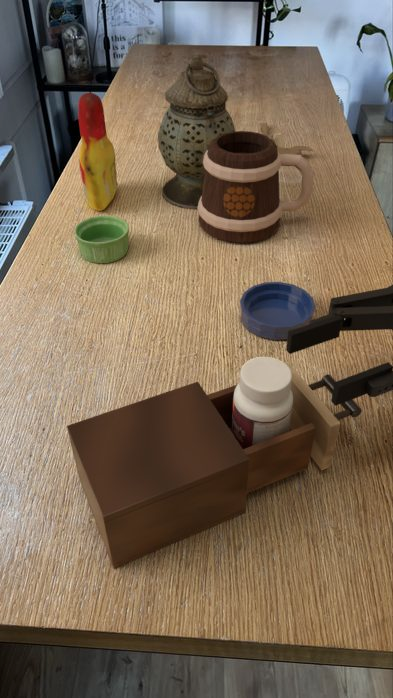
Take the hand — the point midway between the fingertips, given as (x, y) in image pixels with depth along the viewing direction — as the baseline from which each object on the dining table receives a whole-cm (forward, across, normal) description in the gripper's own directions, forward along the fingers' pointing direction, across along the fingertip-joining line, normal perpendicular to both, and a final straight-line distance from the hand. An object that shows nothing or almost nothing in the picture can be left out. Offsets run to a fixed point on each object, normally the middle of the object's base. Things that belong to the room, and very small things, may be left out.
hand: (311, 367), depth 61 cm
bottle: (+2, -66, +12) cm, 68 cm away
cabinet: (+18, 0, +12) cm, 21 cm away
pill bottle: (+5, 0, +10) cm, 12 cm away
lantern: (-16, -61, +12) cm, 64 cm away
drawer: (+4, 0, +11) cm, 12 cm away
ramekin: (+7, -49, +12) cm, 51 cm away
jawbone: (-44, -74, +12) cm, 87 cm away
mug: (-20, -46, +12) cm, 52 cm away
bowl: (-10, -21, +12) cm, 26 cm away
